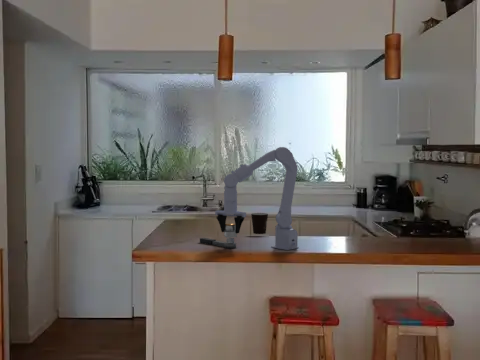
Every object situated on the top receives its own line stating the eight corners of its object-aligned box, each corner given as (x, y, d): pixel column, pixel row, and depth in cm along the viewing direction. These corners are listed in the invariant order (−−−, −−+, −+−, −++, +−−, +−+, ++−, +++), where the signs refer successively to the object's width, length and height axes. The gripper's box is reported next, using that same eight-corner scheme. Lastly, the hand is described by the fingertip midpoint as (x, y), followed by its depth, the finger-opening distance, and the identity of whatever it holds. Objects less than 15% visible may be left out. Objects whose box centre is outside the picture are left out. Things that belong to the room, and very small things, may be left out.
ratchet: (238, 247, 240) (238, 238, 240) (230, 249, 236) (230, 239, 236) (206, 241, 255) (206, 232, 255) (197, 242, 252) (197, 233, 252)
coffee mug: (261, 235, 276) (261, 215, 275) (247, 233, 281) (247, 213, 280) (274, 232, 285) (274, 213, 285) (260, 230, 290) (260, 211, 290)
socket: (237, 237, 238) (236, 224, 238) (226, 237, 237) (226, 225, 237) (234, 235, 243) (234, 223, 242) (224, 236, 242) (223, 223, 241)
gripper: (249, 201, 239) (249, 232, 240) (220, 200, 246) (220, 230, 247) (241, 203, 233) (241, 234, 234) (212, 201, 240) (212, 232, 241)
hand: (230, 232), depth 240 cm, fingers closed on socket, 6 cm apart
